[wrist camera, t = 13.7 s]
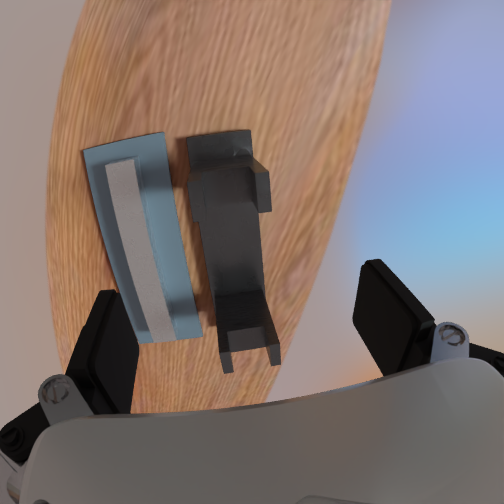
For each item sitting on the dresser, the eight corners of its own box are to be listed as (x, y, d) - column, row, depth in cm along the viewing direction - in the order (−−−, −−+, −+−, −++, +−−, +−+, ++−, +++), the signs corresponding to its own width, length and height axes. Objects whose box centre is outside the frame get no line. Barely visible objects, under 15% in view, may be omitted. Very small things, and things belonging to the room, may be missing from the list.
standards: (187, 137, 29) (177, 148, 20) (248, 129, 30) (270, 136, 20) (218, 325, 40) (224, 389, 30) (265, 318, 41) (284, 379, 31)
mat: (85, 149, 28) (83, 150, 28) (164, 131, 29) (163, 132, 28) (140, 340, 39) (139, 343, 39) (202, 333, 40) (202, 336, 40)
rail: (112, 161, 29) (105, 165, 26) (138, 155, 29) (133, 159, 27) (156, 330, 38) (153, 342, 36) (177, 327, 39) (176, 340, 36)
